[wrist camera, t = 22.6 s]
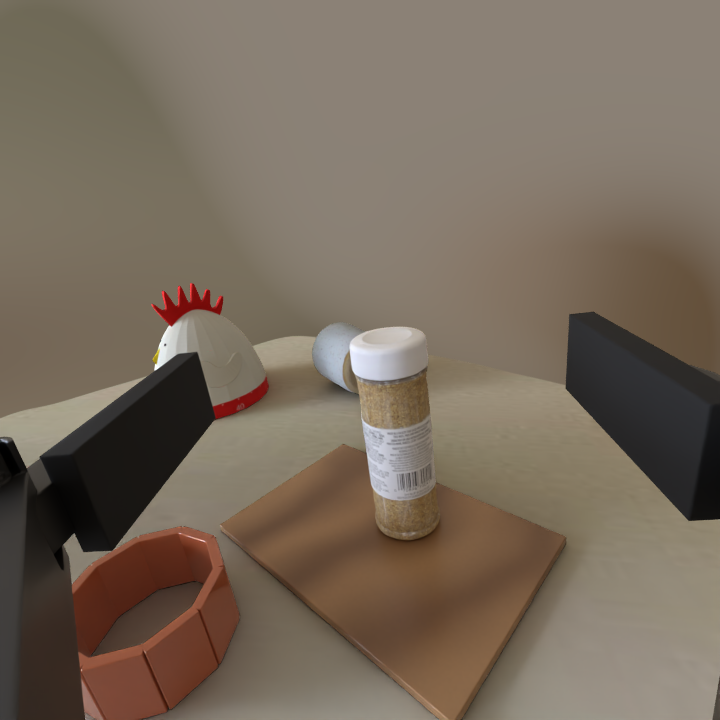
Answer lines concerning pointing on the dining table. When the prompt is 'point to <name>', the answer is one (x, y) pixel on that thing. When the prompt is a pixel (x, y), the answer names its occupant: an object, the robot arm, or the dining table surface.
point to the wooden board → (401, 575)
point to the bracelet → (170, 645)
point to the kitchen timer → (213, 351)
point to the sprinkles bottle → (397, 429)
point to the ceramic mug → (336, 354)
